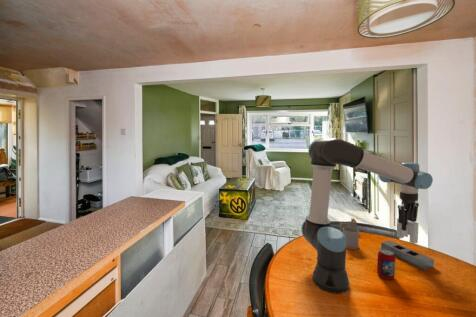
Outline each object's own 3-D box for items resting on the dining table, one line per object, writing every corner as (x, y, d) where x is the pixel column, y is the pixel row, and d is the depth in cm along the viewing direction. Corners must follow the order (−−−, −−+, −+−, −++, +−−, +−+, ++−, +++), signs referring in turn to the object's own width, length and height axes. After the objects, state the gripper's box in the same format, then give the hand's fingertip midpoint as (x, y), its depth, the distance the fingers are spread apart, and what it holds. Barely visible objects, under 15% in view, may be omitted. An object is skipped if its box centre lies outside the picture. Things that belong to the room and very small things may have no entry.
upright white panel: (417, 242, 113) (418, 223, 112) (413, 243, 112) (414, 224, 111) (400, 235, 121) (401, 217, 120) (396, 236, 120) (397, 218, 119)
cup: (360, 249, 126) (360, 232, 125) (344, 248, 128) (345, 231, 127) (355, 242, 134) (356, 227, 133) (341, 241, 136) (341, 226, 135)
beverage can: (386, 282, 97) (387, 256, 96) (373, 273, 104) (374, 249, 103) (398, 279, 99) (399, 254, 98) (384, 270, 106) (385, 247, 105)
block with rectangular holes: (424, 270, 105) (425, 262, 105) (381, 249, 126) (381, 242, 126) (433, 267, 108) (434, 259, 108) (389, 246, 128) (389, 240, 128)
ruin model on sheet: (353, 231, 151) (353, 217, 150) (356, 233, 148) (356, 219, 147) (338, 232, 149) (339, 219, 148) (341, 234, 146) (341, 220, 145)
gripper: (406, 195, 107) (404, 241, 110) (427, 192, 113) (424, 235, 115) (391, 192, 114) (389, 235, 117) (411, 189, 120) (409, 230, 122)
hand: (406, 235), depth 116 cm, fingers closed on upright white panel, 3 cm apart
